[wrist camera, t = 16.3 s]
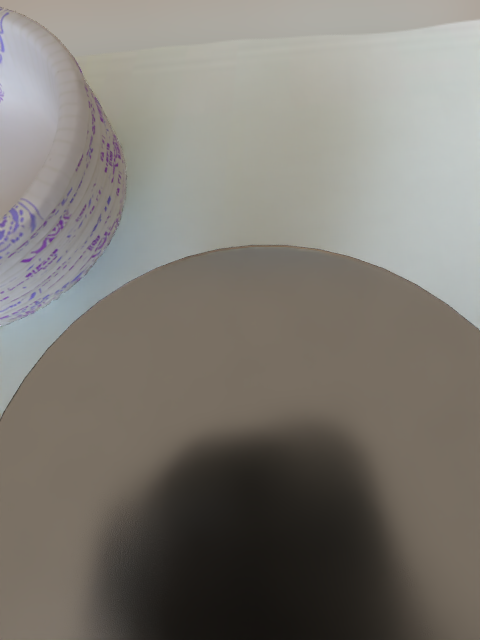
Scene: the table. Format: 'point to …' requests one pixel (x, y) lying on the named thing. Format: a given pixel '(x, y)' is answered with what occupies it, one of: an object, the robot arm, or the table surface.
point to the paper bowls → (50, 170)
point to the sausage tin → (247, 460)
